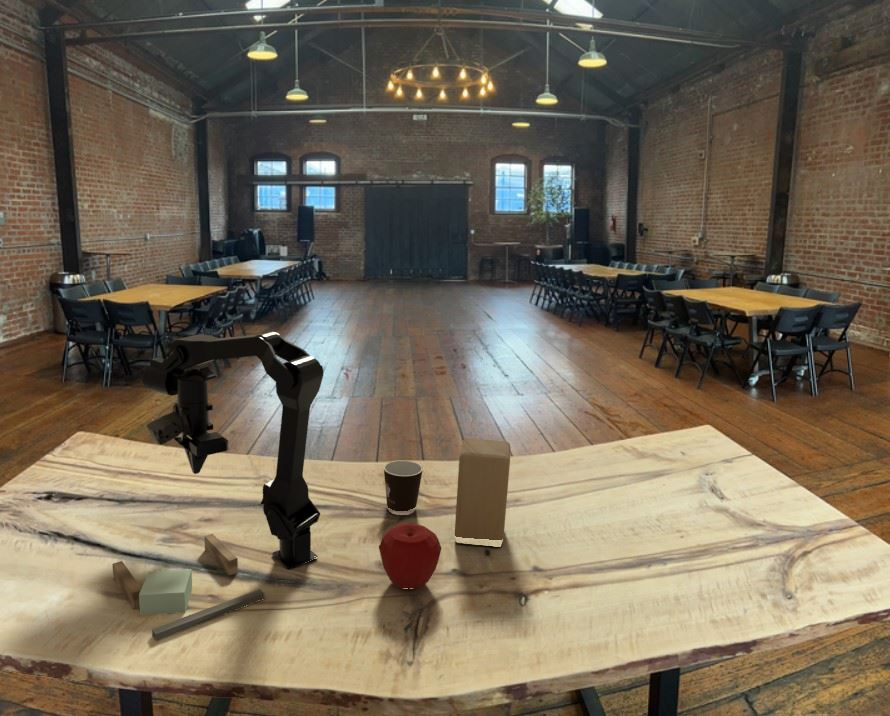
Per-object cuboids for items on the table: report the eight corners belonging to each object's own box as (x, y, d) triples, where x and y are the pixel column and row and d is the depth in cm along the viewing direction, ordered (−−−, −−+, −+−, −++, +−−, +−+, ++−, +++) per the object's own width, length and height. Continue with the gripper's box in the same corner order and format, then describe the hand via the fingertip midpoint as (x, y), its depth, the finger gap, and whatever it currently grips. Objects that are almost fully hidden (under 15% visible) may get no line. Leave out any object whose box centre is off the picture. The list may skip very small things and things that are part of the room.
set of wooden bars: (264, 599, 117) (264, 583, 116) (155, 641, 105) (154, 624, 104) (213, 547, 132) (212, 533, 131) (113, 578, 120) (112, 563, 119)
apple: (449, 580, 125) (452, 523, 122) (417, 608, 116) (420, 547, 113) (400, 561, 131) (402, 506, 128) (366, 587, 122) (368, 528, 119)
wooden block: (503, 526, 146) (510, 440, 142) (502, 550, 137) (510, 458, 132) (457, 522, 147) (463, 435, 142) (453, 545, 138) (459, 453, 133)
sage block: (185, 613, 112) (184, 592, 111) (140, 616, 111) (138, 595, 110) (192, 589, 119) (191, 569, 118) (149, 591, 117) (148, 571, 116)
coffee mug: (419, 519, 147) (421, 477, 145) (380, 517, 147) (381, 474, 145) (422, 496, 159) (424, 456, 156) (385, 493, 159) (387, 454, 156)
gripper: (134, 393, 134) (138, 466, 138) (168, 420, 120) (172, 500, 124) (190, 385, 141) (193, 454, 145) (228, 409, 128) (230, 485, 132)
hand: (196, 473), depth 136 cm, fingers closed
